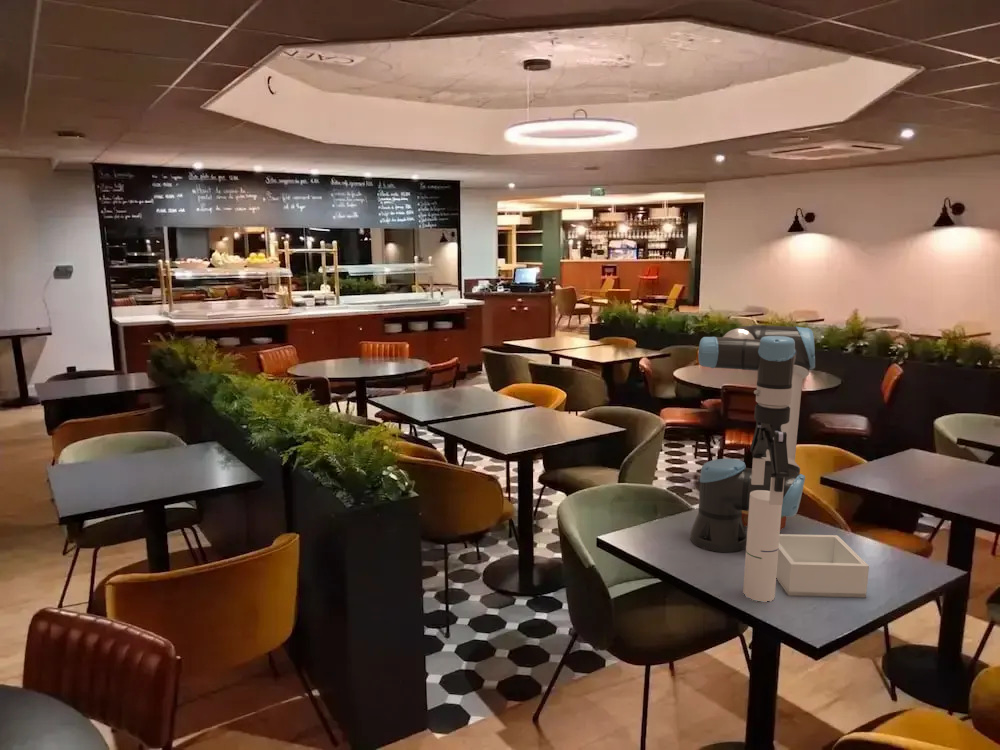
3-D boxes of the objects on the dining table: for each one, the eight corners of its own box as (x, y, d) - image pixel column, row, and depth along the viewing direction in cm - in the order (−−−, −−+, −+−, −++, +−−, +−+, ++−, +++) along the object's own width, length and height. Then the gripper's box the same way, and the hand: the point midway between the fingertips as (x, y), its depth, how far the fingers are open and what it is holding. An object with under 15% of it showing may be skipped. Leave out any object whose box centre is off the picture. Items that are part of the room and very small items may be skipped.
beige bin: (765, 562, 189) (767, 533, 188) (834, 564, 188) (837, 535, 187) (788, 595, 172) (791, 564, 170) (865, 597, 171) (869, 566, 169)
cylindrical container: (777, 603, 168) (785, 501, 163) (745, 600, 169) (752, 499, 165) (772, 589, 175) (779, 491, 170) (741, 586, 176) (748, 489, 172)
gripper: (740, 393, 176) (735, 476, 180) (773, 417, 151) (766, 513, 155) (771, 393, 175) (765, 477, 179) (810, 417, 151) (802, 514, 155)
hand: (766, 494), depth 167 cm, fingers open, 13 cm apart
